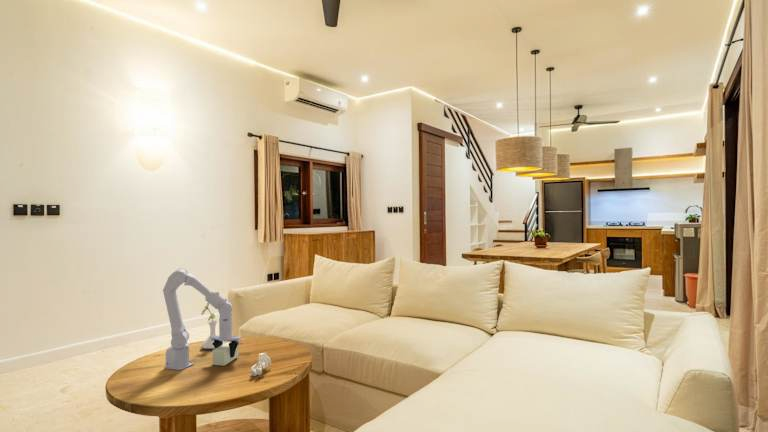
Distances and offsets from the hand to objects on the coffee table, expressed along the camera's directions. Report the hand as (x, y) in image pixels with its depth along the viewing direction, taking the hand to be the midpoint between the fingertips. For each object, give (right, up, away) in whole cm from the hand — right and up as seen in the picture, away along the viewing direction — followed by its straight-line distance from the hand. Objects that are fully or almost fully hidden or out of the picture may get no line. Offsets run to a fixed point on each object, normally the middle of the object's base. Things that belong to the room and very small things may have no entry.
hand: (226, 356), depth 192 cm
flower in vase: (-15, -3, +20) cm, 25 cm away
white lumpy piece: (+21, -2, -19) cm, 28 cm away
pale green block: (0, -2, 0) cm, 2 cm away
